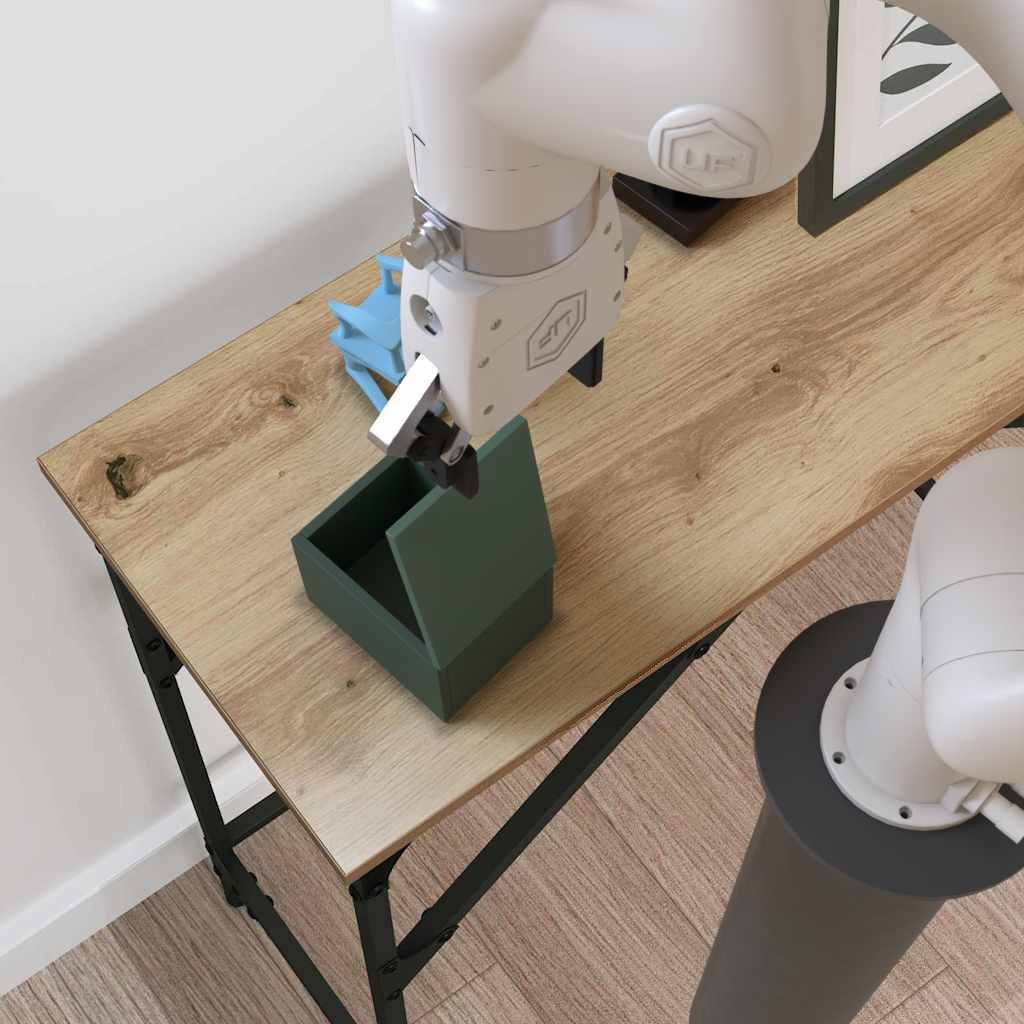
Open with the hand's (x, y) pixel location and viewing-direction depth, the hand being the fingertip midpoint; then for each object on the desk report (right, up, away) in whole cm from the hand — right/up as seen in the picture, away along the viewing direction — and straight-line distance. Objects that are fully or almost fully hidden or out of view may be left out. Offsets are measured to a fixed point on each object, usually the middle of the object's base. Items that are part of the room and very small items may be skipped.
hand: (514, 422), depth 79 cm
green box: (-6, -11, +33) cm, 35 cm away
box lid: (-2, -6, +17) cm, 18 cm away
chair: (-9, +5, +42) cm, 43 cm away
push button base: (+14, +22, +51) cm, 57 cm away
